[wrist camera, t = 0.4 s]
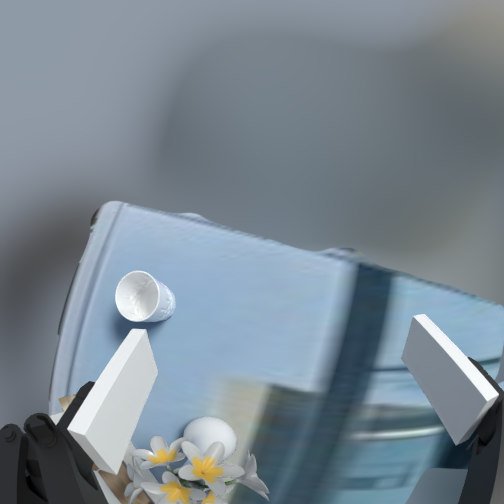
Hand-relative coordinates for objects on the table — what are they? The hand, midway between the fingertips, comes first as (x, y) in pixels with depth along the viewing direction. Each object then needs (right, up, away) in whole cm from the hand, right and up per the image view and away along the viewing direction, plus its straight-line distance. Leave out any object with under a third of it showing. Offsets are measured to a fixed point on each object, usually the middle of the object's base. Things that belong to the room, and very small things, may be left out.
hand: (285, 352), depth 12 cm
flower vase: (-8, -28, +29) cm, 41 cm away
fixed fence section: (-27, -43, +24) cm, 56 cm away
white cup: (-19, -5, +36) cm, 41 cm away
